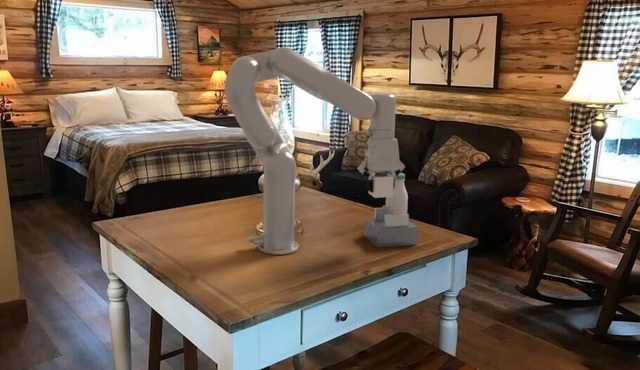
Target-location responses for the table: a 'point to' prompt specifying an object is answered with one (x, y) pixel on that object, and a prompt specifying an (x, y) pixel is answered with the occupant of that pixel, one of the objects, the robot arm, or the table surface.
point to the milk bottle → (399, 195)
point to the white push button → (382, 185)
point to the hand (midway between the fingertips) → (380, 190)
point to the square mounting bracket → (390, 228)
